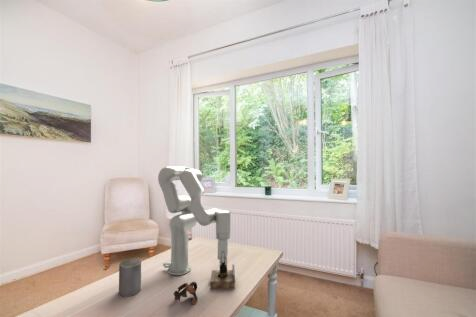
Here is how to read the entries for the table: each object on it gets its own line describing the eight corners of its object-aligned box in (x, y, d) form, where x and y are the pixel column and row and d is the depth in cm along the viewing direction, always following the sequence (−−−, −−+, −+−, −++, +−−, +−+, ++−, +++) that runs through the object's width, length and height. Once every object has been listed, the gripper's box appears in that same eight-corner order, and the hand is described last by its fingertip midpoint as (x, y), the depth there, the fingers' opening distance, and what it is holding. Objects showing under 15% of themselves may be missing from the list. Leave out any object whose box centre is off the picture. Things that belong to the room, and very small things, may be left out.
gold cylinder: (219, 278, 118) (219, 258, 119) (219, 275, 122) (219, 255, 123) (227, 278, 119) (227, 258, 119) (227, 274, 123) (227, 255, 123)
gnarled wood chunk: (191, 310, 98) (181, 294, 98) (176, 314, 102) (167, 298, 102) (206, 289, 109) (197, 274, 109) (191, 293, 113) (183, 278, 113)
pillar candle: (119, 288, 115) (119, 257, 115) (141, 284, 118) (141, 254, 118) (117, 299, 106) (118, 265, 106) (141, 294, 109) (141, 262, 110)
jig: (210, 288, 114) (210, 275, 114) (211, 276, 126) (212, 264, 126) (234, 288, 115) (234, 275, 115) (234, 276, 127) (234, 264, 127)
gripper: (216, 230, 129) (216, 263, 129) (215, 240, 112) (215, 278, 112) (230, 230, 129) (230, 263, 129) (230, 239, 113) (230, 278, 112)
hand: (223, 270), depth 121 cm, fingers closed on gold cylinder, 4 cm apart
